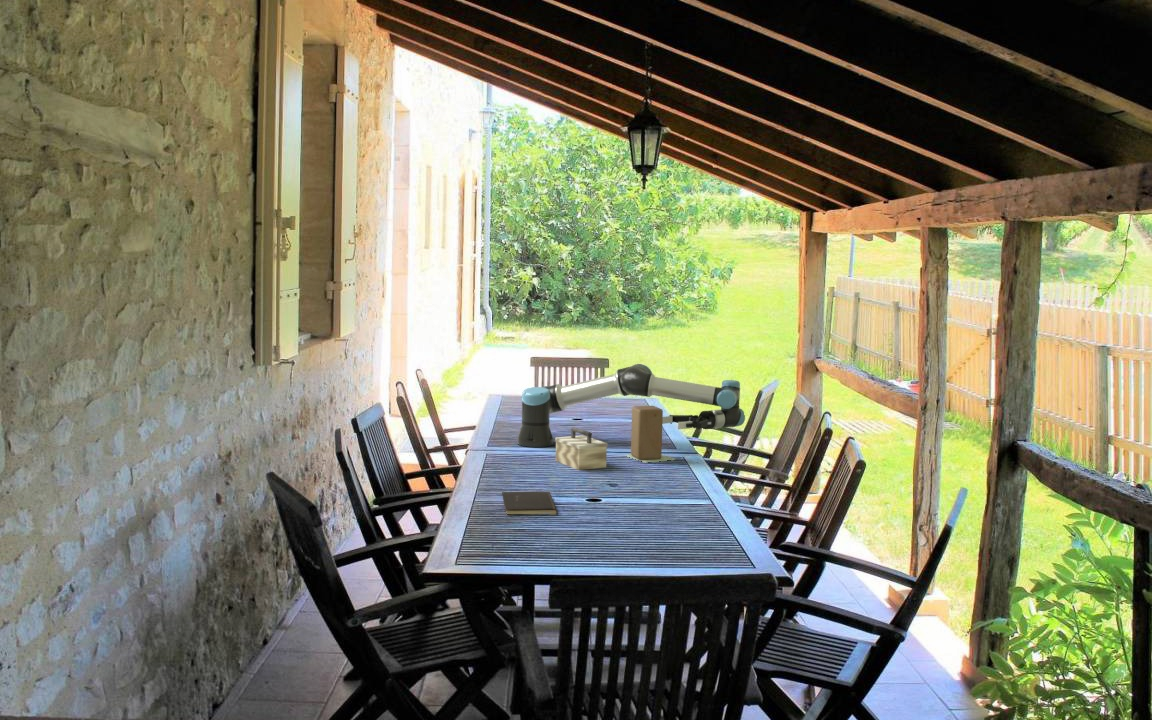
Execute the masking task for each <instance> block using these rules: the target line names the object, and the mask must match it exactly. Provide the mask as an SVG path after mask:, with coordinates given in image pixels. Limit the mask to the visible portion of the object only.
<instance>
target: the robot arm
mask: <svg viewBox="0 0 1152 720" xmlns="http://www.w3.org/2000/svg"><path fill="white" fill-rule="evenodd" d="M615 395H621V396H623V397H627V396H629V395H631V396H638V397H646V398H650V397H652V396H655V397H662V398H668V399H674V400H680V401H687V402H692V403H696V404H697V403H699V404H705V405H710V406H715V407H720V409H712V410H702V411H700V413H699V415H698V414H694V415H693V414H669V415H668V416H663V422H662V425H664V424H671V425H672V424H673V423H677V429H678V430H687V429H688V430H689V429H697V430H701V429H703V430H711V429H715V430H718V429H720V428H721V429H722V428H723V429H725V428H735V427H740V426H742V425H744V423H745V421H746V415H745V411H744V410H743V409H742V408H740V400H741V399H740V395H741V383H740V381H739V380H736V379H735V380H734V379H724V380H723V381H722V382H721V387H719V386H712V385H706V384H699V383H695V382H687V381H683V380H682V381H681V380H678V379H669V378H665V377H658V376H655V374H654V373H653V372H652V369H651V368H650V367H649V366H647V365H645V364H643V363H637V364H636V363H635V364H633V365H631V366H627V367H622V368H619V369H617V370H616V372H615V373H614V374H609V375H605V376H601V377H597V378H592V379H589V380H584V381H580V382H576V383H573V384H572V383H571V384H568V385H564V386H563V385H561V384H559V383H557V384H553V385H545V386H534V387H528V388H526V389H523V392H522V396H521V427H520V430H519V433H518V435H517V445H518V444H519V445H518V446H521V445H522V447H526V446H527V447H526V448H545V447H551V446H553V445H554V437H553V434H552V430H551V428H550V414H553V413H558V412H562V411H565V410H566V409H567V407H568V406H569V407H570V406H574V405H577V404H581V403H585V402H591V401H593V400H598V399H602V398H606V397H611V396H615Z"/></svg>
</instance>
